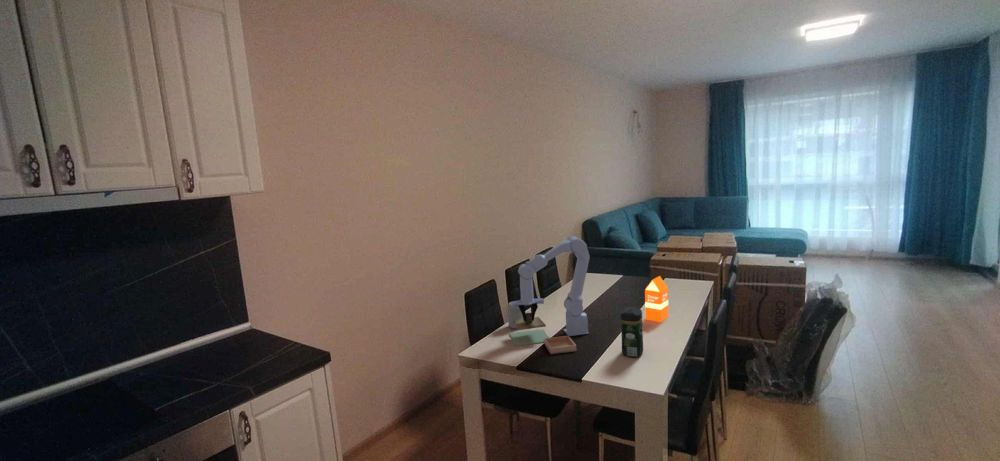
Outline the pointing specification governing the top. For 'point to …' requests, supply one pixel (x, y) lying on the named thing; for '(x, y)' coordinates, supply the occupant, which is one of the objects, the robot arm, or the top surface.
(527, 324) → the cover
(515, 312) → the can
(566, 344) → the pink square tray
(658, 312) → the orange juice
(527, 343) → the mat
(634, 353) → the coffee jar
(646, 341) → the top surface
